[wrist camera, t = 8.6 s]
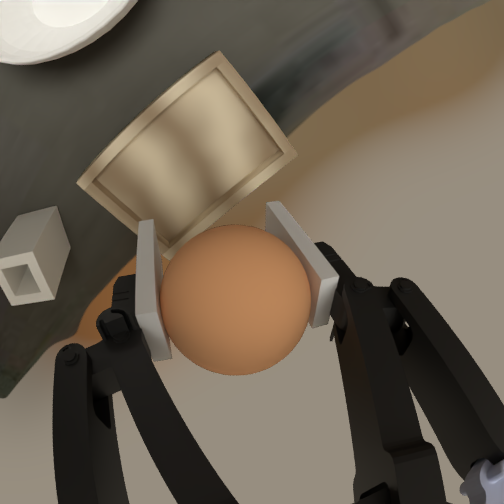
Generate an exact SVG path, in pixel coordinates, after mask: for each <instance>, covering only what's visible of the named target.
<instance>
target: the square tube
mask: <svg viewBox="0 0 504 504" xmlns="http://www.w3.org/2000/svg"><path fill="white" fill-rule="evenodd" d="M70 248H71V247H70V244H69V241H68V238H67V235H66V233H65V230H64V227H63V223H62V220H61V217H60V214H59V211H58V207H57V206H53V207H49V208H45V209H41V210H37V211H33V212H29V213H25V214H22V215H18V216H17V217H16V219H15V220H14V222H13V223H12V225H11V226H10V227H9V229H8V230H7V232H6V234H5V235H4V237H3V238H2V240H1V241H0V286H1V287H2V289H3V291H4V293H5V295H6V296H7V298H8V300H9V302H10V303H11V305H12V306H15V305H21V304H28V303H34V302H41V301H47V300H53V299H55V297H56V293H57V289H58V286H59V283H60V279H61V276H62V273H63V269H64V266H65V263H66V260H67V257H68V254H69V251H70Z"/></svg>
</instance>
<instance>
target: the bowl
mask: <svg viewBox="0 0 504 504" xmlns="http://www.w3.org/2000/svg"><path fill="white" fill-rule="evenodd" d="M137 1H138V0H0V62H2V63H8V64H13V65H33V64H38V63H42V62H47V61H51V60H55V59H58V58H61V57H63V56H66V55H69V54H71V53H74V52H76V51H78V50H80V49H82V48H83V47H85V46H87V45H89V44H91V43H93V42H94V41H95V40H97V39H98V38H99V37H101V36H102V35H104V34H105V33H106V32H108V31H109V30H111V29H112V28H113V27H114V26H115V25H116V24H117V23H118V22H119V21H120V20H121V19H122V18H124V17H125V16H126V14H127V13H128V12H129V11H130V10H131V8H132V7H133V6H134V5H135V4H136V2H137Z"/></svg>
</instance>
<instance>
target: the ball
mask: <svg viewBox="0 0 504 504" xmlns="http://www.w3.org/2000/svg"><path fill="white" fill-rule="evenodd" d="M160 308H161V315H162V319H163V323H164V326H165V329H166V331H167V333H168V335H169V337H170V338H171V340H172V342H173V343H174V345H175V346H176V347H177V348H178V349H179V350H180V352H181V353H182V354H183V355H184V356H186V357H187V358H188V359H189V360H191V361H192V362H193V363H195V364H196V365H198V366H200V367H202V368H204V369H206V370H209V371H211V372H215V373H219V374H223V375H248V374H253V373H257V372H260V371H263V370H265V369H268V368H270V367H272V366H273V365H275V364H277V363H278V362H279V361H281V360H282V359H284V358H285V357H286V356H287V355H288V354H289V353H290V352H291V351H292V350H293V349H294V347H295V346H296V345H297V343H298V342H299V341H300V339H301V337H302V335H303V333H304V331H305V329H306V326H307V323H308V320H309V316H310V310H311V291H310V284H309V281H308V278H307V274H306V272H305V270H304V268H303V266H302V264H301V262H300V260H299V259H298V257H297V256H296V255H295V253H294V252H293V251H292V250H291V248H290V247H288V246H287V245H286V244H285V243H284V242H283V241H282V240H280V239H279V238H277V237H276V236H274V235H273V234H270V233H268V232H266V231H264V230H262V229H259V228H255V227H251V226H245V225H224V226H219V227H214V228H212V229H209V230H206V231H204V232H202V233H199V234H198V235H196V236H194V237H193V238H191V239H190V240H189V241H188V242H186V243H185V244H184V245H183V246H182V247H181V248H180V249H179V250H178V251H177V252H176V254H175V255H174V256H173V258H172V259H171V261H170V263H169V265H168V267H167V269H166V271H165V273H164V276H163V279H162V283H161V289H160Z"/></svg>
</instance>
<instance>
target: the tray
mask: <svg viewBox="0 0 504 504" xmlns="http://www.w3.org/2000/svg"><path fill="white" fill-rule="evenodd" d="M297 156H298V154H297V152H296V151H295V149H294V148H293V147H292V145H291V144H290V142H289V141H288V139H287V138H286V137H285V135H284V134H283V132H282V131H281V129H280V128H279V127H278V125H277V124H276V123H275V121H274V120H273V118H272V117H271V116H270V114H269V113H268V112H267V110H266V109H265V108H264V106H263V105H262V103H261V102H260V101H259V100H258V98H257V97H256V96H255V94H254V93H253V92H252V90H251V89H250V88H249V86H248V85H247V84H246V83H245V81H244V80H243V79H242V78H241V76H240V75H239V74H238V73H237V71H236V70H235V69H234V68H233V66H232V65H231V64H230V63H229V61H228V60H227V59H226V58H225V57H224V55H223V54H222V53H221V52H220V51H216V52H213V53H212V54H210V55H209V56H208V57H206V58H205V59H204V60H202V61H201V62H200V63H198V64H197V65H196V66H194V67H193V68H192V69H191V70H189V71H188V72H187V73H185V74H184V75H183V76H182V77H180V78H179V79H178V80H177V81H176V82H174V83H173V84H172V85H171V86H170V87H168V88H167V89H166V90H165V91H164V92H163V93H161V94H160V95H159V96H158V97H157V98H156V99H155V100H153V101H152V102H151V103H150V104H149V105H148V106H147V107H146V108H145V109H143V110H142V111H141V112H140V113H139V114H138V115H137V116H136V117H135V118H134V119H133V120H132V121H131V122H130V123H129V124H128V125H127V126H126V127H125V128H124V129H123V130H122V131H121V132H120V133H119V134H118V135H117V136H116V137H115V138H114V139H113V140H112V141H111V142H110V143H109V144H108V145H107V146H106V147H105V148H104V149H103V150H102V151H101V152H100V154H99V155H98V156H97V157H96V158H95V159H94V160H93V161H92V162H91V164H90V165H89V166H88V167H87V168H86V169H85V170H84V172H83V173H82V174H81V176H80V177H79V179H78V181H77V182H76V183H77V184H78V185H79V186H80V187H81V188H82V189H83V190H85V191H86V192H87V193H88V194H89V195H90V196H91V197H93V198H94V199H95V200H96V201H97V202H98V203H100V204H101V205H102V206H103V207H104V208H105V209H107V210H108V211H109V212H110V213H111V214H113V215H114V216H115V217H116V218H117V219H118V220H120V221H121V222H122V223H123V224H124V225H126V226H127V227H128V228H129V229H131V230H132V231H133V232H134V233H135V234H137V235H138V227H139V221H144V220H150V219H153V220H154V225H155V230H156V236H157V241H158V246H159V250H160V254H161V255H163V256H164V257H165V258H167V259H168V260H169V261H170V260H171V259H172V258H173V256H174V255H175V254H176V252H177V251H178V250H179V249H180V248H181V247H182V246H183V245H184V244H185V243H186V242H188V241H189V240H190V239H191V238H193V237H194V236H196V235H198V234H199V233H202V232H204V231H205V230H206V229H207V228H208V227H210V226H211V225H212V224H213V223H214V222H216V220H218V219H219V218H220V217H222V216H223V215H224V214H225V213H226V212H228V211H229V210H230V209H231V208H232V207H234V206H235V205H236V204H237V203H239V202H240V201H241V200H242V199H243V198H245V197H246V196H247V195H248V194H250V193H251V192H252V191H253V190H255V189H256V188H257V187H258V186H260V185H261V184H262V183H263V182H265V181H266V180H267V179H269V178H270V177H271V176H272V175H274V174H275V173H276V172H277V171H279V170H280V169H281V168H282V167H284V166H285V165H286V164H287V163H289V162H290V161H291V160H293V159H294V158H295V157H297Z"/></svg>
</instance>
